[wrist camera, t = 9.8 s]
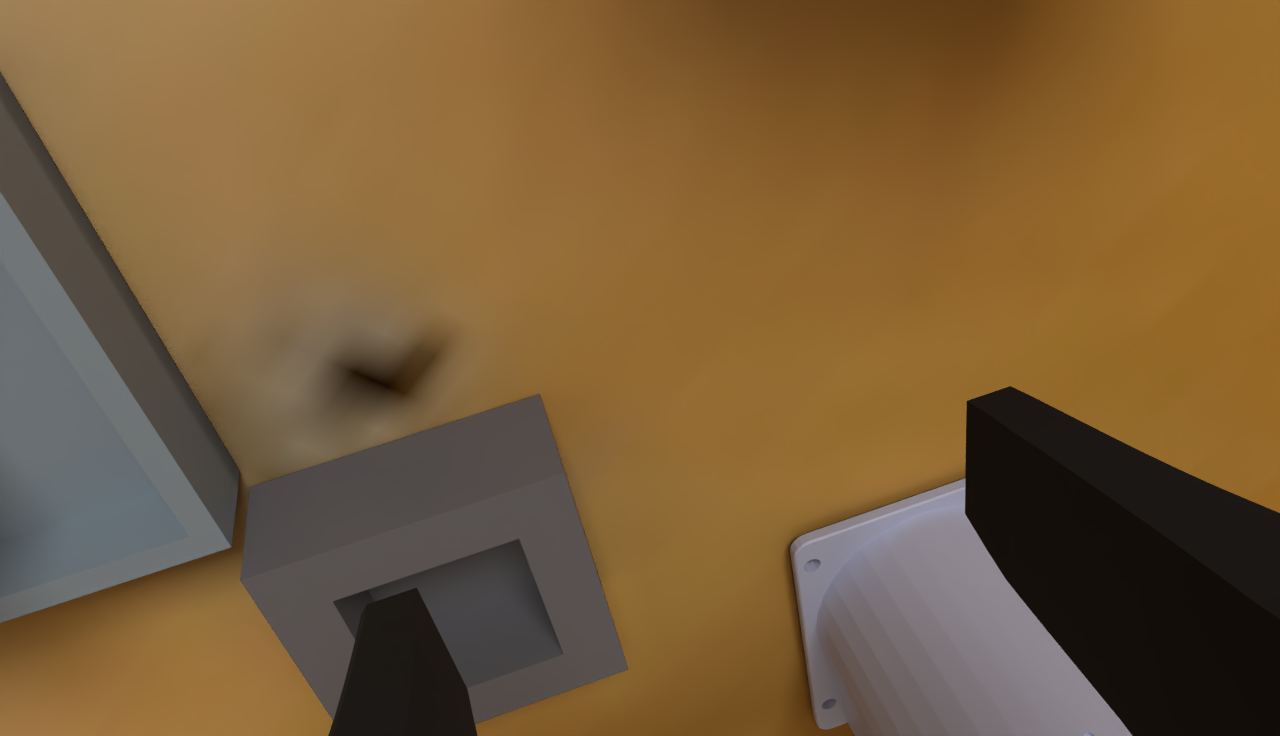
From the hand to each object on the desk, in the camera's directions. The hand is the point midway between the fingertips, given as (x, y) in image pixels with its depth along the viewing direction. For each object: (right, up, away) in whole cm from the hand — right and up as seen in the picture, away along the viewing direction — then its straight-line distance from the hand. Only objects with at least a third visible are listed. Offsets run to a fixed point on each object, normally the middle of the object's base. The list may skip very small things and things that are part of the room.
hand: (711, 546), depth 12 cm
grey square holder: (-6, -2, +13) cm, 14 cm away
